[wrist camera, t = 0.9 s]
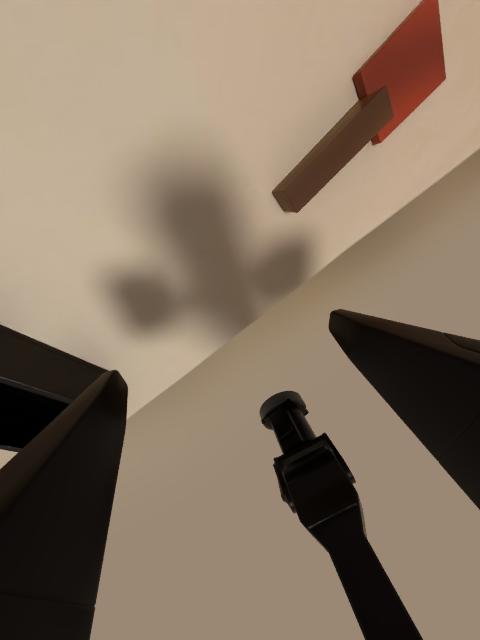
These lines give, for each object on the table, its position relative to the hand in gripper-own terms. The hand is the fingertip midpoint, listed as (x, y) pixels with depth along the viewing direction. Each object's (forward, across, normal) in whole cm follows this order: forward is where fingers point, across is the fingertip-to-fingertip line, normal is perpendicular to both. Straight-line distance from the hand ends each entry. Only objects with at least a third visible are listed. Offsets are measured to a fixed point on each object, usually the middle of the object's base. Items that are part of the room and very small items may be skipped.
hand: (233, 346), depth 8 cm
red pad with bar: (+13, -14, -8) cm, 20 cm away
